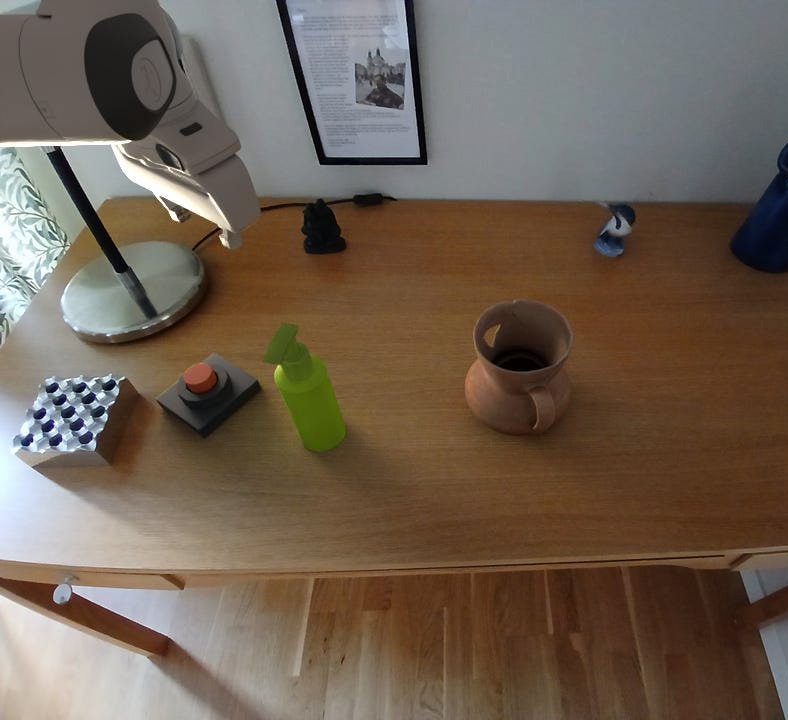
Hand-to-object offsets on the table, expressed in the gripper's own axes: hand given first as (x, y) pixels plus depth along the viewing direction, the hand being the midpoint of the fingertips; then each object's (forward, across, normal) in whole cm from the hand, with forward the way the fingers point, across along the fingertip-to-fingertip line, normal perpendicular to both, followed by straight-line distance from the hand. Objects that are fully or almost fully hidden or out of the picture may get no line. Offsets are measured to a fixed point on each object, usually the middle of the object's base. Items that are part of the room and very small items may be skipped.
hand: (207, 232), depth 68 cm
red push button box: (+21, +2, -11) cm, 24 cm away
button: (+17, +2, -11) cm, 20 cm away
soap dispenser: (+21, +19, -7) cm, 29 cm away
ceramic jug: (+21, +38, +12) cm, 46 cm away
